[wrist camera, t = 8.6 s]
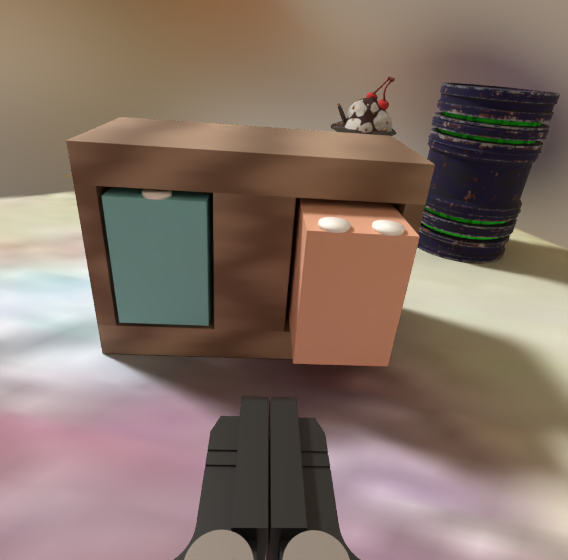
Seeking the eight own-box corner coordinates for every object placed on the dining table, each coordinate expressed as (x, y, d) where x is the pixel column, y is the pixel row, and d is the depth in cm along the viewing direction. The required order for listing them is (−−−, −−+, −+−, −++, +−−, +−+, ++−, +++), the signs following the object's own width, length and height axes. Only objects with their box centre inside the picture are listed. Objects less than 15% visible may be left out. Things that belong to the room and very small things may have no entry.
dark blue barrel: (403, 251, 41) (442, 84, 34) (407, 220, 49) (439, 81, 42) (512, 271, 39) (578, 96, 31) (497, 235, 47) (546, 90, 40)
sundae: (391, 222, 48) (420, 79, 41) (350, 232, 44) (375, 76, 37) (350, 205, 53) (370, 74, 45) (310, 213, 49) (325, 71, 42)
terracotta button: (293, 364, 21) (307, 226, 17) (287, 301, 26) (297, 186, 23) (388, 367, 21) (421, 232, 18) (363, 304, 27) (385, 191, 23)
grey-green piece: (118, 323, 23) (100, 192, 19) (146, 272, 28) (135, 162, 25) (208, 326, 23) (205, 198, 20) (218, 275, 29) (218, 167, 25)
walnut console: (102, 353, 24) (66, 140, 19) (139, 286, 31) (120, 117, 26) (387, 362, 25) (434, 164, 20) (360, 295, 32) (390, 135, 27)
